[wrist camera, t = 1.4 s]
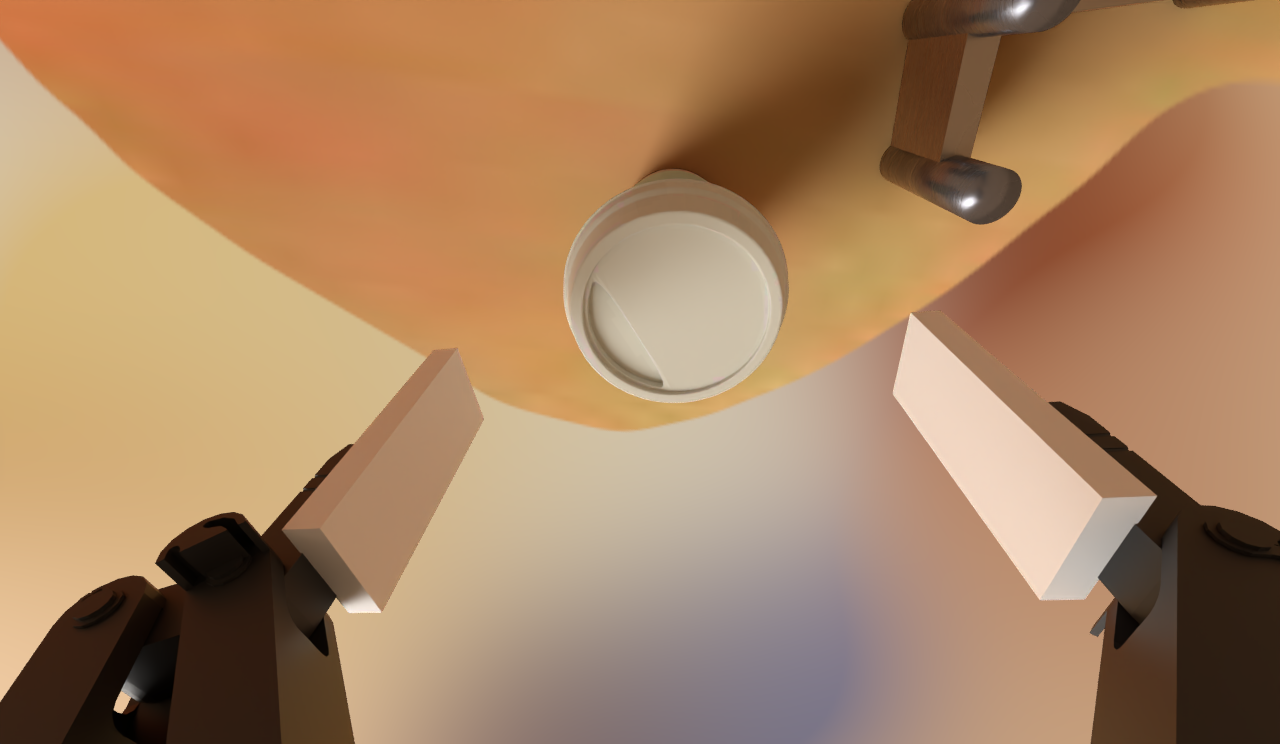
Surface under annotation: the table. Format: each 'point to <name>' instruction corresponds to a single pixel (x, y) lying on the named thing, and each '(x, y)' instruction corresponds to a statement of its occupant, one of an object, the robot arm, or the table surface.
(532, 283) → the table surface
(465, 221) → the table surface
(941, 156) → the rail
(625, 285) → the coffee cup
